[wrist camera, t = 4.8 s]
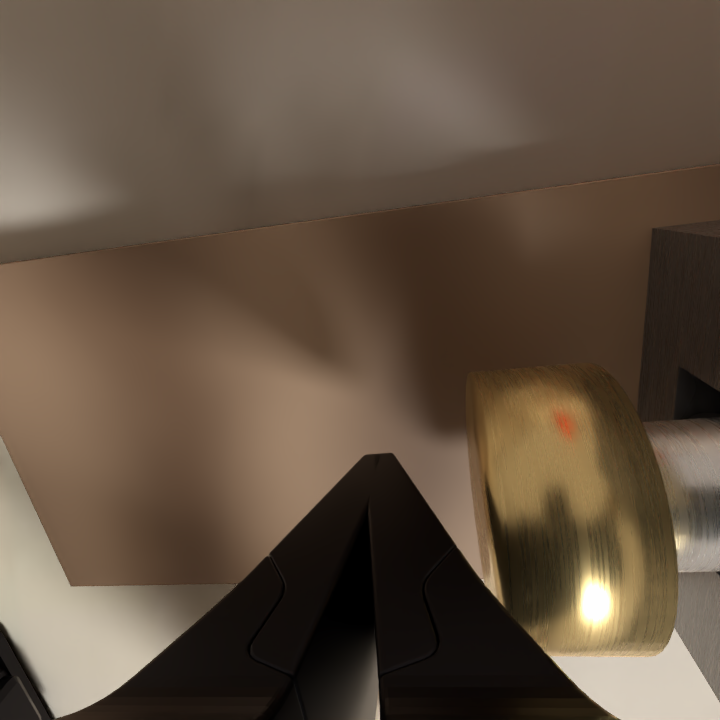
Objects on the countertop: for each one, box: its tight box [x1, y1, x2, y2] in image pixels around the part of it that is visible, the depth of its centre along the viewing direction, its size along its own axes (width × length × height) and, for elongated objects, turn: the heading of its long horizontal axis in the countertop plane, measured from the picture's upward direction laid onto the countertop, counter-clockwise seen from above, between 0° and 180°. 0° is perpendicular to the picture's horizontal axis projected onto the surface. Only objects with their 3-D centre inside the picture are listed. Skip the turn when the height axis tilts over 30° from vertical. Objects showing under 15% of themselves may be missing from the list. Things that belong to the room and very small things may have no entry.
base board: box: [0, 164, 720, 586], centre depth 11 cm, size 22×10×1 cm, turn 98°
